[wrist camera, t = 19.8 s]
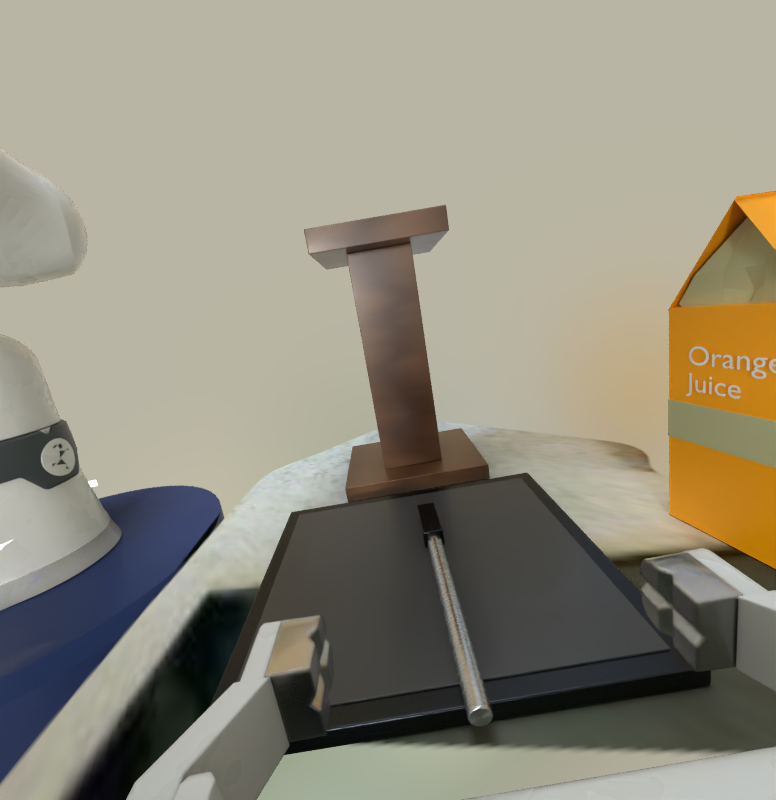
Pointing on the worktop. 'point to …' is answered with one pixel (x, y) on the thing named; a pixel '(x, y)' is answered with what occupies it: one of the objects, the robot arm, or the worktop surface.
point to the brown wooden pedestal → (396, 355)
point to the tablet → (481, 603)
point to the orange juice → (727, 384)
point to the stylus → (455, 621)
